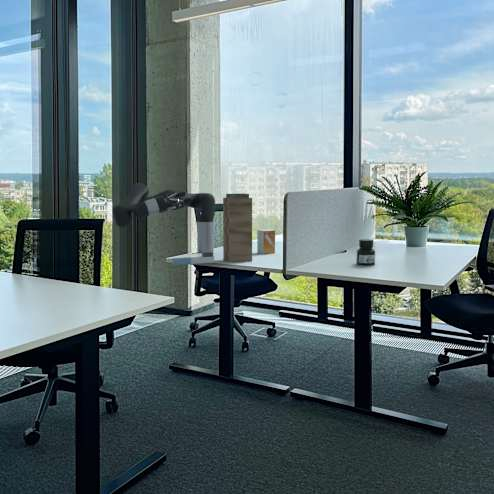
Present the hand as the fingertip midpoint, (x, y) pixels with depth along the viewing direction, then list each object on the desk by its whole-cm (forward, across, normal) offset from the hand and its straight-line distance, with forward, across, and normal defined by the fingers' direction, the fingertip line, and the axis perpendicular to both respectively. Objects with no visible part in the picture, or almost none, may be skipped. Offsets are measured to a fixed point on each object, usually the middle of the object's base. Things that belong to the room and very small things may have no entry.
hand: (188, 196), depth 261 cm
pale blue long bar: (-6, +8, -32) cm, 33 cm away
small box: (+40, -6, -50) cm, 65 cm away
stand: (+17, +10, -38) cm, 43 cm away
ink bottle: (+71, +45, -40) cm, 93 cm away
